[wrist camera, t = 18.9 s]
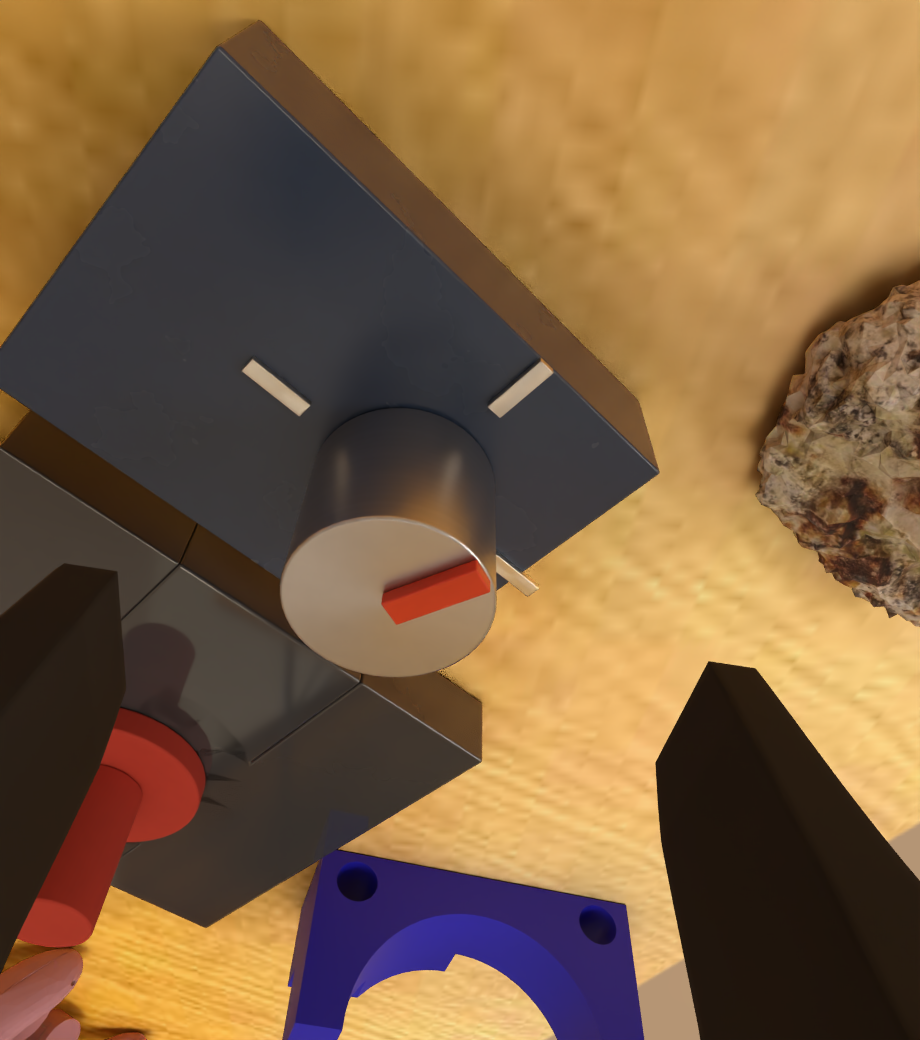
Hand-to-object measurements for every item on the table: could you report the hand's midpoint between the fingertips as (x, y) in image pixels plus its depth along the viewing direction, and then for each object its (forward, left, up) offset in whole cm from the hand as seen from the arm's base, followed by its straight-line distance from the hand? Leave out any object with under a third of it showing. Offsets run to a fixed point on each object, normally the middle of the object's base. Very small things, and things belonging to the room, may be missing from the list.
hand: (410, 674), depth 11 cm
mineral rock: (+11, +6, -10) cm, 16 cm away
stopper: (+2, -16, -10) cm, 19 cm away
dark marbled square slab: (+2, -15, -10) cm, 18 cm away
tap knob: (+1, -2, -7) cm, 8 cm away
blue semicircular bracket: (+18, -17, -10) cm, 27 cm away
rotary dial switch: (-1, -2, -10) cm, 11 cm away
